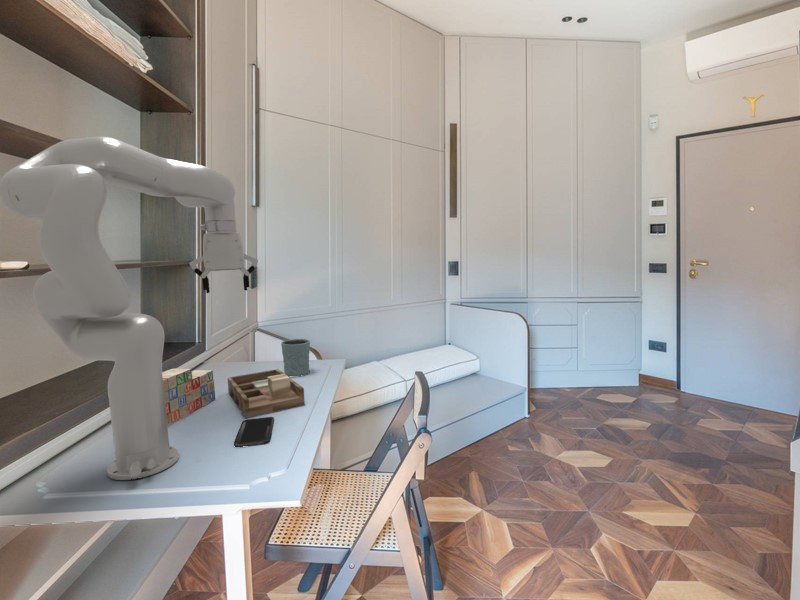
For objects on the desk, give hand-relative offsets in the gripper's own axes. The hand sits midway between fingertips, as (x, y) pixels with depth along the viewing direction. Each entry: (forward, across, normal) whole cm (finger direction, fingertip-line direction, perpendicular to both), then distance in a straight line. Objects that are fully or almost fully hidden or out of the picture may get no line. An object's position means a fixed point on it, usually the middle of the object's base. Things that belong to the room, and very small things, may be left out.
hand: (227, 291), depth 115 cm
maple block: (+31, +12, -2) cm, 33 cm away
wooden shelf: (+33, +8, +4) cm, 34 cm away
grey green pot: (+34, +21, +27) cm, 48 cm away
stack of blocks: (+34, -14, +3) cm, 37 cm away
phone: (+34, +4, -21) cm, 40 cm away
